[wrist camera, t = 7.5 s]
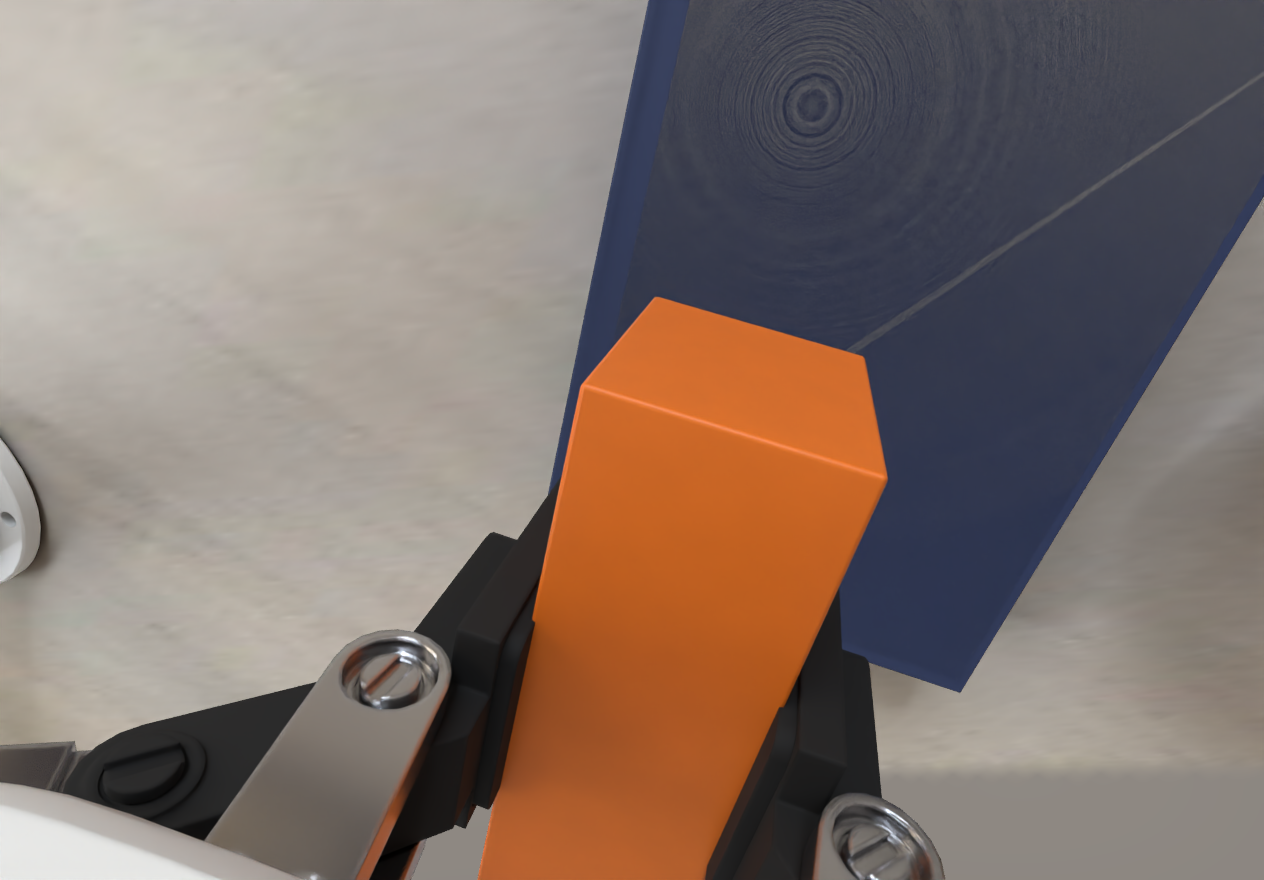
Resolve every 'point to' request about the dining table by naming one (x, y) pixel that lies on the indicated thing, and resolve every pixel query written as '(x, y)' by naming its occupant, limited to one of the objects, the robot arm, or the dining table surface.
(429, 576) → the dining table surface
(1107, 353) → the book
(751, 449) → the long orange block
